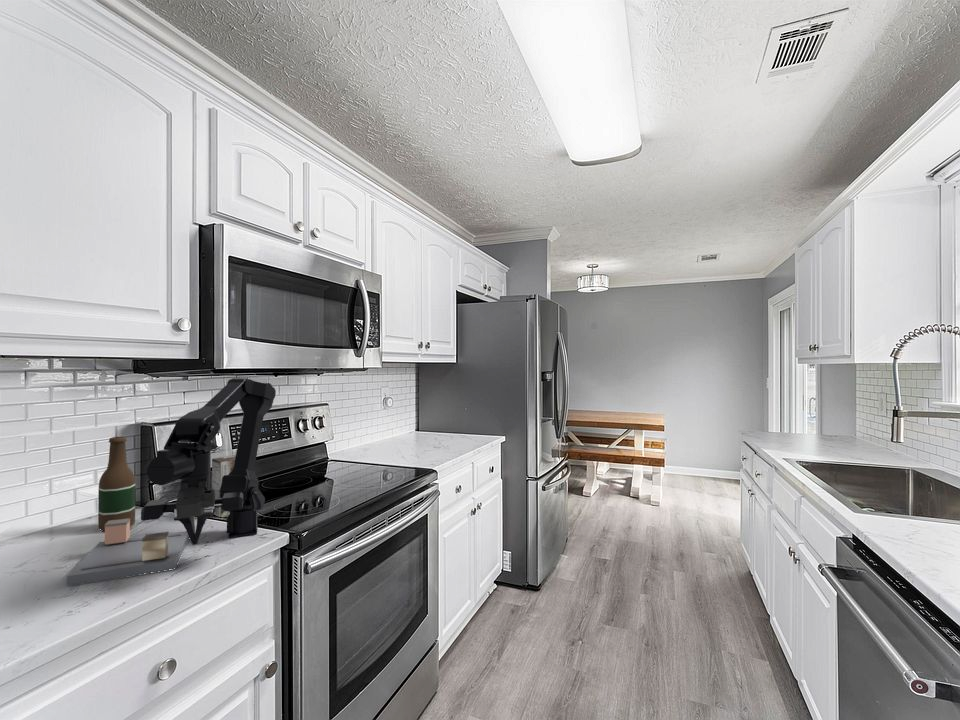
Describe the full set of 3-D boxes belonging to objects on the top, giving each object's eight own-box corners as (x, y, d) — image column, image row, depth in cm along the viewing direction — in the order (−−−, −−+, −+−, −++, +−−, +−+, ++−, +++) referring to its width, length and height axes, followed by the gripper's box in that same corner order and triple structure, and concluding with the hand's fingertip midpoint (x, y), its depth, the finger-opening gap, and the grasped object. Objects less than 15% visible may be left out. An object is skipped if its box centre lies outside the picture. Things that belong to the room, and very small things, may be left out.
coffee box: (243, 506, 142) (243, 453, 142) (252, 510, 138) (253, 456, 138) (210, 513, 135) (211, 458, 135) (219, 518, 131) (220, 461, 131)
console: (189, 538, 115) (189, 530, 115) (175, 569, 98) (175, 559, 98) (99, 550, 108) (99, 541, 108) (66, 586, 91) (66, 575, 91)
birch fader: (168, 552, 101) (168, 531, 101) (165, 557, 98) (165, 536, 98) (145, 555, 99) (145, 534, 99) (141, 561, 97) (142, 539, 97)
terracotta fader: (130, 537, 110) (130, 518, 110) (126, 541, 107) (126, 522, 107) (108, 539, 108) (108, 520, 108) (104, 544, 105) (104, 524, 105)
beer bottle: (115, 533, 119) (116, 439, 119) (90, 531, 120) (91, 439, 121) (142, 523, 127) (143, 435, 127) (117, 521, 128) (118, 434, 128)
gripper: (134, 486, 91) (133, 566, 91) (240, 477, 98) (240, 551, 98) (147, 474, 101) (147, 546, 101) (243, 466, 109) (243, 533, 108)
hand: (194, 544), depth 102 cm, fingers closed
